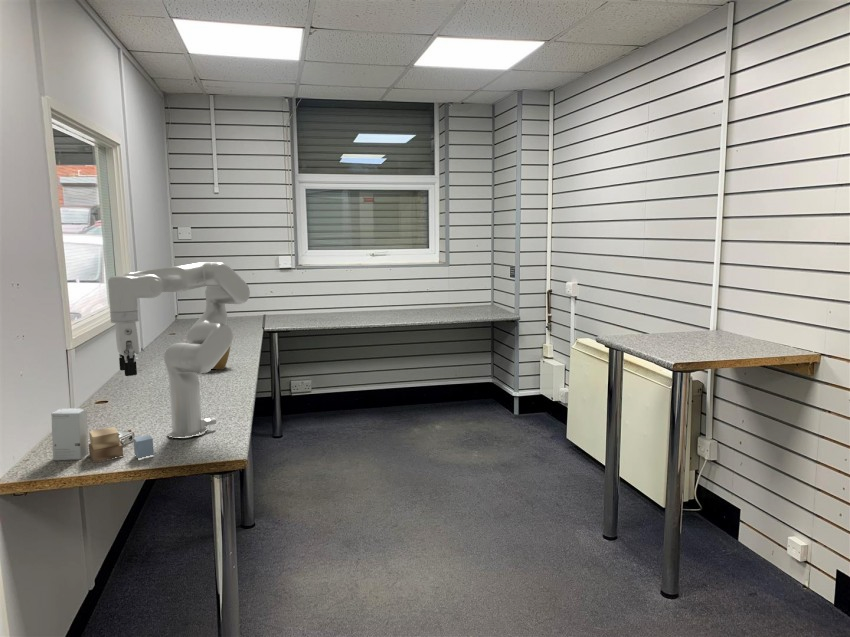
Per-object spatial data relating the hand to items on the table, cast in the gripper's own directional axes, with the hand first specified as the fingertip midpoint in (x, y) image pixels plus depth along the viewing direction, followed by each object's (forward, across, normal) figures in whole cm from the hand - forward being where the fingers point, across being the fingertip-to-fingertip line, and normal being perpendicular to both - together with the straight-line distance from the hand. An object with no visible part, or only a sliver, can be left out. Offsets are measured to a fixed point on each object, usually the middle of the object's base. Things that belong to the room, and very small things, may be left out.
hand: (128, 372), depth 181 cm
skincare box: (+27, +10, +16) cm, 33 cm away
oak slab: (+23, +5, +7) cm, 24 cm away
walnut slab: (+27, +5, +7) cm, 28 cm away
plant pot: (+25, +110, -57) cm, 126 cm away
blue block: (+26, -3, -2) cm, 27 cm away
